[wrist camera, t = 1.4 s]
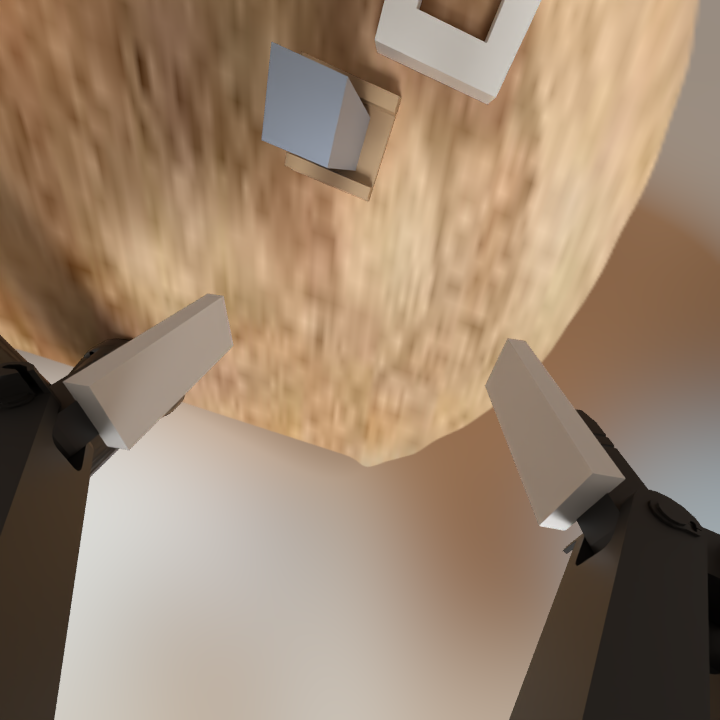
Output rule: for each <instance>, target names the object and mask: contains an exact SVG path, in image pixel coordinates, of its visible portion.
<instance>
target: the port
mask: <svg viewBox="0 0 720 720" xmlns="http://www.w3.org/2000/svg"><path fill="white" fill-rule="evenodd" d="M540 2H541V0H502V1H501V3H500V6H499V8H498V10H497V13H496V15H495V18H494V20H493V22H492V25H491V27H490V30H489V32H488V35H487V37H486V39H485V42H484V41H481V40H479V39H477V38H475V37H473V36H471V35H469V34H467V33H465V32H463V31H461V30H459V29H457V28H455V27H453V26H451V25H449V24H447V23H445V22H443V21H441V20H439V19H437V18H435V17H433V16H431V15H429V14H427V13H425V12H423V11H421V10H419V9H420V6H421V3H422V0H385V1H384V5H383V9H382V13H381V17H380V21H379V24H378V28H377V32H376V36H375V44H376V49H377V53H379V54H381V55H383V56H386V57H388V58H390V59H392V60H394V61H396V62H398V63H400V64H403V65H405V66H407V67H409V68H411V69H413V70H415V71H417V72H420V73H422V74H424V75H426V76H428V77H430V78H432V79H434V80H437V81H439V82H441V83H443V84H445V85H447V86H449V87H451V88H453V89H456V90H458V91H460V92H462V93H464V94H466V95H468V96H470V97H473V98H475V99H477V100H479V101H481V102H483V103H485V104H489V103H490V102H491V101H492V100H493V99H495V98H496V96H497V94H498V92H499V90H500V87H501V85H502V83H503V81H504V79H505V77H506V75H507V72H508V70H509V68H510V66H511V64H512V62H513V60H514V58H515V55H516V53H517V51H518V49H519V47H520V45H521V43H522V40H523V38H524V36H525V34H526V32H527V30H528V28H529V25H530V23H531V21H532V19H533V17H534V15H535V13H536V11H537V8H538V6H539V4H540Z"/></svg>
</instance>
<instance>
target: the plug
mask: <svg viewBox="0 0 720 720" xmlns="http://www.w3.org/2000/svg"><path fill="white" fill-rule="evenodd" d="M369 120H370V116H369V114H368V113H367V111H366V109H365V107H364V105H363V103H362V102H361V100H360V98H359V96H358V94H357V92H356V91H355V89H354V87H353V85H352V83H351V81H350V80H349V78H348V76H346V75H343V74H341V73H339V72H337V71H335V70H332V69H330V68H328V67H326V66H324V65H322V64H319V63H317V62H315V61H313V60H311V59H308V58H306V57H304V56H302V55H300V54H298V53H295V52H293V51H291V50H289V49H287V48H284V47H282V46H280V45H278V44H276V43H274V42H271V52H270V62H269V72H268V82H267V92H266V102H265V112H264V122H263V132H262V140H263V141H265V142H267V143H270V144H272V145H274V146H277V147H279V148H281V149H284V150H286V151H289V152H291V153H293V154H296V155H298V156H300V157H303V158H305V159H307V160H310V161H312V162H314V163H317V164H319V165H322V166H324V167H326V168H333V169H343V170H354V171H356V167H357V164H358V160H359V157H360V153H361V149H362V146H363V142H364V139H365V135H366V131H367V128H368V124H369Z"/></svg>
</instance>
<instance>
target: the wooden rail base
mask: <svg viewBox="0 0 720 720" xmlns="http://www.w3.org/2000/svg"><path fill="white" fill-rule="evenodd" d="M301 55H302V56H304V57H306V58H308V59H311V60H313V61H315V62H317V63H319V64H322V65H324V66H326V67H328V68H330V69H332V70H335V71H337V72H339V73H341V74H343V75H346V76H348V78H349V80H350V81H351V83H352V85H353V87H354V89H355V91H356V92H357V94H358V96H359V98H360V100H361V102H362V103H363V105H364V107H365V109H366V111H367V113H368V114H369V116H370V120H369V124H368V128H367V131H366V135H365V139H364V142H363V146H362V149H361V153H360V157H359V160H358V164H357V167H356V171H354V170H343V169H333V168H326V167H324V166H322V165H319V164H317V163H314V162H312V161H310V160H307V159H305V158H303V157H300V156H298V155H296V154H292V153H287V152H286V159H285V166H287V167H290V168H292V169H291V170H293V171H296V172H298V173H301V174H303V175H305V176H308V177H310V178H313V179H315V180H317V181H320V182H322V183H325V184H327V185H329V186H332V187H334V188H336V189H339V190H341V191H344V192H346V193H348V194H351V195H353V196H356V197H358V198H360V199H363V200H365V201H369V199H370V196H371V193H372V190H373V187H374V184H375V180H376V177H377V174H378V171H379V168H380V165H381V162H382V158H383V155H384V152H385V149H386V146H387V143H388V140H389V136H390V133H391V130H392V127H393V124H394V121H395V118H396V114H397V111H398V108H399V105H400V102H401V97H399V96H397V95H395V94H393V93H391V92H389V91H387V90H384V89H382V88H380V87H378V86H376V85H374V84H371V83H369V82H367V81H365V80H363V79H360V78H358V77H356V76H354V75H352V74H350V73H347V72H345V71H343V70H341V69H339V68H337V67H334V66H332V65H330V64H328V63H326V62H324V61H321V60H319V59H317V58H315V57H313V56H310V55H308V54H306V53H304V52H302V51H301Z"/></svg>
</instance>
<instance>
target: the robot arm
mask: <svg viewBox="0 0 720 720" xmlns="http://www.w3.org/2000/svg"><path fill="white" fill-rule="evenodd" d="M232 346H233V341H232V336H231V331H230V326H229V321H228V316H227V311H226V306H225V301H224V296H220V295H214V294H206V295H205V296H203V297H201V298H200V299H198V300H196V301H195V302H193V303H192V304H190V305H188V306H187V307H185V308H183V309H182V310H180V311H178V312H177V313H175V314H173V315H172V316H170V317H168V318H167V319H165V320H164V321H162V322H160V323H159V324H157V325H155V326H154V327H152V328H150V329H149V330H147V331H145V332H144V333H142V334H140V335H139V336H137V337H136V338H134V339H132V340H131V341H128V340H122V339H111V340H107V341H104V342H102V343H101V344H99V345H97V346H95V347H93V348H92V349H90V350H89V351H88V352H87V353H86V354H85V355H84V357H83V358H82V359H81V360H80V361H79V363H78V364H77V365H76V366H75V367H74V368H73V370H72V371H71V372H70V373H69V374H68V375H67V376H66V377H64V378H63V379H61V380H59V381H57V382H56V383H54V384H52V385H51V384H50V383H49V382H48V381H47V380H46V379H45V378H44V377H43V376H42V375H41V374H40V373H39V372H38V370H37V369H36V368H35V366H34V365H33V364H31V363H29V362H27V361H26V360H25V359H24V358H23V357H22V356H21V355H20V354H19V353H18V352H17V351H16V350H15V349H14V348H13V347H12V346H11V345H10V344H9V343H8V342H7V341H6V340H5V339H4V338H3V337H2V336H1V335H0V720H54V716H55V710H56V703H57V696H58V690H59V683H60V675H61V669H62V663H63V656H64V648H65V642H66V636H67V629H68V622H69V615H70V608H71V601H72V595H73V588H74V580H75V574H76V567H77V560H78V554H79V547H80V540H81V533H82V527H83V520H84V513H85V506H86V500H87V493H88V486H89V479H90V477H91V476H92V475H93V474H94V473H95V472H96V471H97V470H98V469H99V468H100V467H101V466H102V465H103V464H104V463H105V462H106V461H107V460H108V459H109V458H110V457H111V456H112V455H113V454H114V453H115V452H116V451H117V450H118V449H125V450H130V449H131V448H132V447H133V446H134V445H135V444H136V443H137V442H138V441H139V440H140V439H141V438H142V437H143V436H144V435H145V434H146V433H147V432H148V431H149V430H150V429H151V428H152V427H153V426H154V424H156V423H157V422H158V421H159V420H160V419H161V418H162V417H164V416H166V415H168V414H170V413H171V412H173V411H174V409H176V408H177V407H178V406H179V405H180V403H181V402H182V401H183V399H184V395H185V394H186V393H187V392H188V391H189V390H190V389H191V388H192V387H193V386H194V385H195V384H196V383H197V382H198V381H199V380H200V379H201V378H202V377H203V376H204V375H205V374H206V373H207V372H208V371H209V370H210V369H211V368H212V367H213V366H214V365H215V364H216V363H217V362H218V361H219V360H220V359H221V358H222V357H223V356H224V355H225V354H226V353H227V352H228V351H229V350H230V349H231V348H232ZM485 386H486V389H487V392H488V394H489V397H490V399H491V402H492V405H493V407H494V410H495V412H496V415H497V418H498V420H499V423H500V425H501V428H502V431H503V433H504V436H505V438H506V441H507V444H508V446H509V449H510V451H511V454H512V457H513V459H514V462H515V465H516V467H517V470H518V472H519V475H520V478H521V480H522V483H523V485H524V488H525V491H526V493H527V496H528V498H529V501H530V504H531V506H532V509H533V511H534V514H535V517H536V519H537V522H538V524H539V526H543V527H548V528H553V529H559V530H564V531H565V530H566V529H568V528H569V527H570V526H571V525H572V524H573V523H575V522H576V521H577V522H578V524H579V526H580V528H581V530H582V532H583V534H582V535H580V536H579V537H578V538H577V539H576V540H574V541H573V542H572V543H570V544H569V545H568V546H567V547H566V548H565V549H564V550H563V551H564V552H565V553H566V554H567V553H569V552H570V551H571V550H573V551H572V554H571V556H570V559H569V562H568V564H567V567H566V570H565V572H564V575H563V578H562V580H561V583H560V586H559V588H558V591H557V594H556V596H555V599H554V602H553V604H552V607H551V610H550V612H549V615H548V618H547V621H546V623H545V626H544V628H543V631H542V634H541V637H540V639H539V642H538V644H537V647H536V650H535V653H534V655H533V658H532V660H531V663H530V666H529V668H528V671H527V674H526V676H525V679H524V682H523V684H522V687H521V690H520V692H519V695H518V698H517V700H516V703H515V706H514V708H513V711H512V714H511V716H510V719H509V720H720V534H717V533H715V532H713V531H710V530H708V529H705V528H703V527H702V526H701V525H700V524H699V522H698V521H697V520H696V518H695V517H693V516H692V515H691V514H690V513H689V512H688V511H687V510H686V509H685V508H684V507H682V506H681V505H679V504H678V503H677V502H675V501H673V500H672V499H671V498H669V497H667V496H665V495H663V494H660V493H658V492H656V491H652V490H648V489H647V487H646V486H645V485H644V483H643V482H642V481H641V480H640V478H639V477H638V476H637V474H636V473H635V472H634V471H633V469H632V468H631V467H630V465H629V464H628V463H627V461H626V460H625V459H624V458H623V456H622V455H621V454H620V452H619V451H618V450H617V449H616V448H614V445H613V443H612V442H611V441H610V440H609V438H607V437H606V434H605V433H604V432H603V431H602V429H601V428H600V427H599V426H598V424H597V423H596V422H595V421H594V420H592V419H591V418H590V417H589V416H588V415H587V414H585V413H584V412H583V411H582V410H576V409H574V407H573V406H572V404H571V403H570V402H569V400H568V399H567V398H566V396H565V395H564V393H563V392H562V391H561V389H560V388H559V387H558V385H557V384H556V383H555V381H554V380H553V378H552V377H551V376H550V374H549V373H548V371H547V370H546V369H545V367H544V366H543V365H542V363H541V362H540V360H539V359H538V358H537V356H536V355H535V354H534V352H533V351H532V349H531V348H530V347H529V345H528V344H527V343H526V341H523V340H516V339H509V338H507V341H506V343H505V345H504V347H503V349H502V351H501V353H500V355H499V357H498V360H497V362H496V364H495V366H494V368H493V370H492V372H491V374H490V376H489V379H488V381H487V383H486V385H485Z"/></svg>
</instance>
